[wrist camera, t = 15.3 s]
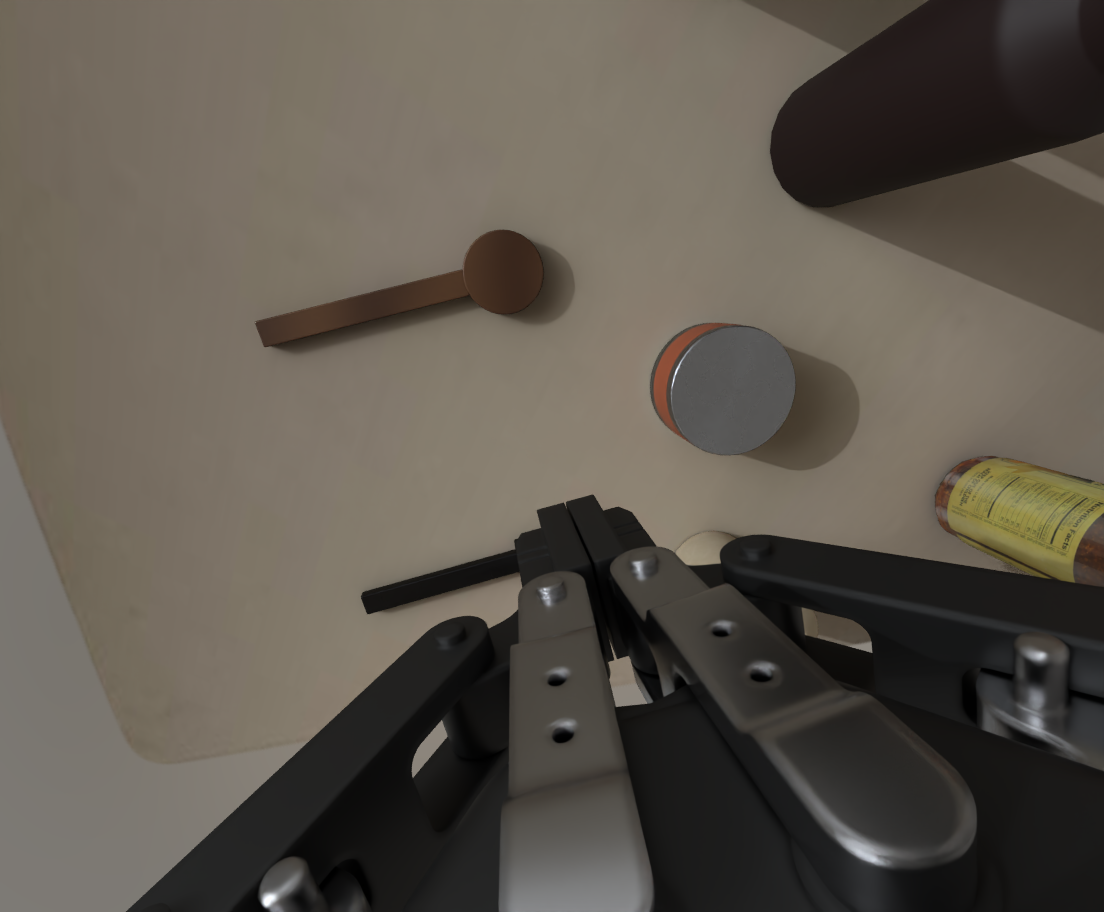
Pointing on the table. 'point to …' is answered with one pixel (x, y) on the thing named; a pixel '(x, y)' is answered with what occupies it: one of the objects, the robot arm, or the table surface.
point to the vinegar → (944, 98)
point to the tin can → (723, 387)
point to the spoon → (429, 291)
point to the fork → (440, 581)
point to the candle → (708, 552)
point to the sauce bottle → (1027, 517)
